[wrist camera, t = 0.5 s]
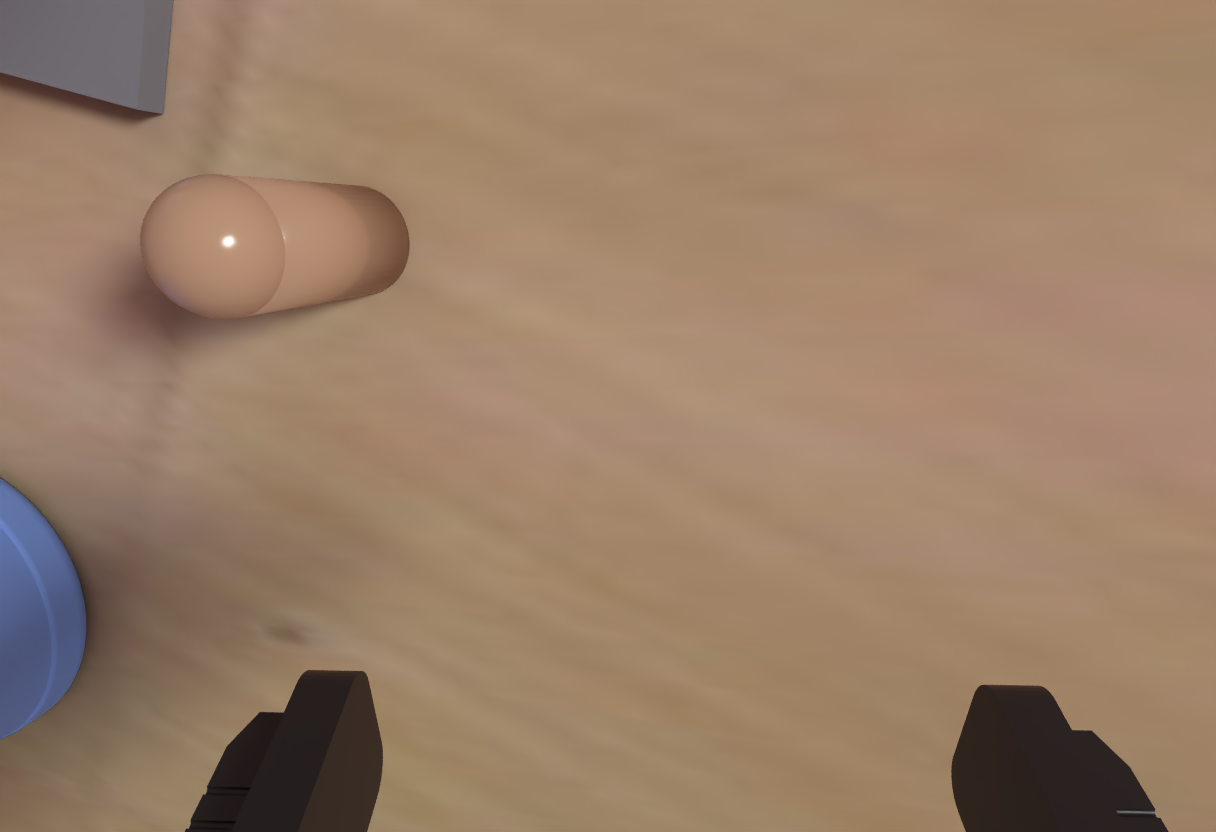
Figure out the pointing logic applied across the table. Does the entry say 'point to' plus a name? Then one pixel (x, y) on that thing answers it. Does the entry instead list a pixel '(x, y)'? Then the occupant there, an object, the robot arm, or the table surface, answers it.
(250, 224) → the tan dome-topped peg
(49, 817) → the table surface
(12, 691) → the water jug
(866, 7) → the table surface
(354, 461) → the table surface
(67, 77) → the grey peg socket base
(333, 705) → the robot arm
